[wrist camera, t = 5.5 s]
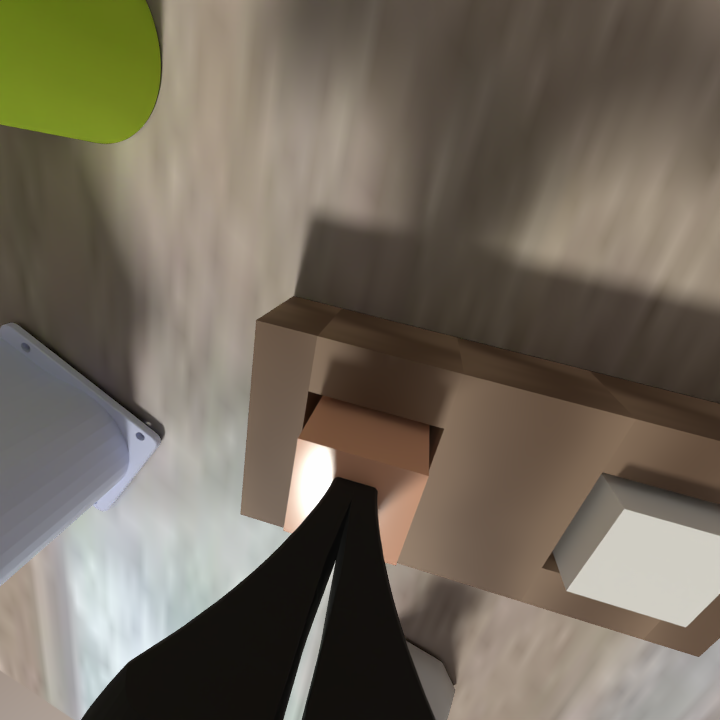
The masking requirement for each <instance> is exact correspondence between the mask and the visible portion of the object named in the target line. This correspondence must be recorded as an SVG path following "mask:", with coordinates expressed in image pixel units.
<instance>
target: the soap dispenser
mask: <svg viewBox="0 0 720 720" xmlns="http://www.w3.org/2000/svg"><path fill="white" fill-rule="evenodd" d="M160 76H161V58H160V48H159V41H158V36H157V32H156V28H155V24H154V21H153V18H152V15H151V12H150V10H149V7H148V5H147V2H146V0H0V124H1V125H6V126H11V127H16V128H21V129H27V130H32V131H37V132H42V133H47V134H53V135H58V136H63V137H68V138H74V139H79V140H84V141H89V142H94V143H102V144H110V143H116V142H120V141H123V140H125V139H127V138H129V137H131V136H132V135H134V134H135V133H136V132H137V131H139V130H140V129H141V127H142V126H143V125H144V124H145V122H146V121H147V120H148V118H149V116H150V114H151V112H152V110H153V108H154V105H155V103H156V99H157V96H158V91H159V85H160Z"/></svg>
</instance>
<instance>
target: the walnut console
mask: <svg viewBox="0 0 720 720" xmlns="http://www.w3.org/2000/svg"><path fill="white" fill-rule="evenodd" d="M322 396H327V397H331V398H334V399H338V400H342V401H345V402H349V403H352V404H356V405H360V406H363V407H367V408H371V409H374V410H378V411H381V412H385V413H389V414H392V415H396V416H400V417H403V418H407V419H411V420H414V421H418V422H421V423H425V424H429V477H428V480H427V483H426V485H425V488H424V491H423V493H422V496H421V499H420V502H419V504H418V507H417V510H416V512H415V515H414V518H413V521H412V523H411V526H410V529H409V531H408V534H407V537H406V539H405V542H404V545H403V548H402V550H401V553H400V556H399V558H398V561H397V563H399V564H402V565H405V566H408V567H412V568H415V569H418V570H421V571H424V572H428V573H431V574H434V575H437V576H440V577H444V578H447V579H450V580H453V581H457V582H460V583H463V584H466V585H469V586H473V587H476V588H479V589H482V590H485V591H489V592H492V593H495V594H498V595H501V596H505V597H508V598H511V599H514V600H518V601H521V602H524V603H527V604H530V605H534V606H537V607H540V608H543V609H546V610H550V611H553V612H556V613H559V614H562V615H566V616H569V617H572V618H575V619H579V620H582V621H585V622H588V623H591V624H595V625H598V626H601V627H604V628H607V629H611V630H614V631H617V632H620V633H624V634H627V635H630V636H633V637H636V638H640V639H643V640H646V641H649V642H652V643H656V644H659V645H662V646H665V647H668V648H672V649H675V650H678V651H681V652H685V653H688V654H691V655H694V656H697V657H699V656H700V655H702V654H703V653H704V652H705V651H706V650H707V649H708V648H709V647H710V646H711V645H712V644H714V643H715V642H716V641H717V640H718V639H719V638H720V594H719V595H718V596H717V597H716V598H715V599H714V600H713V601H712V602H711V603H710V604H709V605H708V606H707V607H706V608H705V609H704V610H703V611H702V612H701V613H700V614H699V615H698V616H697V617H696V618H695V619H694V620H693V621H692V622H691V623H690V624H689V625H688V626H687V627H683V626H679V625H676V624H673V623H670V622H666V621H663V620H660V619H657V618H653V617H650V616H647V615H643V614H640V613H637V612H634V611H630V610H627V609H624V608H621V607H617V606H614V605H611V604H607V603H604V602H601V601H598V600H594V599H591V598H588V597H585V596H581V595H578V594H575V593H571V592H568V591H566V589H565V586H564V583H563V580H562V577H561V575H560V572H559V569H558V566H557V563H556V560H555V557H554V555H553V552H552V551H553V549H554V548H555V546H556V545H557V543H558V542H559V540H560V538H561V537H562V535H563V534H564V532H565V530H566V529H567V527H568V526H569V524H570V523H571V521H572V519H573V518H574V516H575V515H576V513H577V512H578V510H579V508H580V507H581V505H582V504H583V502H584V501H585V499H586V497H587V496H588V494H589V493H590V491H591V490H592V488H593V486H594V485H595V483H596V482H597V480H598V479H599V477H600V475H601V474H602V472H603V473H607V474H610V475H614V476H618V477H621V478H625V479H629V480H632V481H636V482H639V483H643V484H647V485H650V486H654V487H658V488H661V489H665V490H668V491H672V492H676V493H679V494H683V495H687V496H690V497H694V498H698V499H701V500H705V501H708V502H712V503H716V504H719V505H720V404H719V403H715V402H711V401H707V400H703V399H699V398H695V397H691V396H687V395H683V394H679V393H675V392H671V391H667V390H663V389H659V388H655V387H652V386H648V385H644V384H640V383H636V382H632V381H628V380H624V379H620V378H616V377H612V376H608V375H604V374H600V373H596V372H592V371H588V370H584V369H580V368H576V367H572V366H568V365H564V364H560V363H556V362H552V361H548V360H545V359H541V358H537V357H533V356H529V355H525V354H521V353H517V352H513V351H509V350H505V349H501V348H497V347H493V346H489V345H485V344H481V343H477V342H473V341H469V340H465V339H461V338H457V337H453V336H449V335H445V334H441V333H437V332H434V331H430V330H426V329H422V328H418V327H414V326H410V325H406V324H402V323H398V322H394V321H390V320H386V319H382V318H378V317H374V316H370V315H366V314H362V313H358V312H354V311H350V310H346V309H342V308H338V307H334V306H330V305H326V304H323V303H319V302H315V301H311V300H307V299H303V298H299V297H295V296H293V297H292V298H290V299H288V300H287V301H285V302H284V303H282V304H281V305H279V306H278V307H276V308H274V309H273V310H271V311H270V312H268V313H267V314H265V315H264V316H262V317H260V318H259V319H257V320H256V330H255V342H254V354H253V367H252V379H251V391H250V404H249V416H248V428H247V440H246V453H245V465H244V477H243V490H242V502H241V515H245V516H248V517H251V518H254V519H257V520H261V521H264V522H267V523H270V524H273V525H277V526H280V527H283V528H284V523H285V517H286V510H287V504H288V498H289V491H290V485H291V478H292V472H293V466H294V459H295V453H296V446H297V440H298V437H299V435H300V434H301V432H302V430H303V429H304V427H305V425H306V423H307V422H308V420H309V418H310V416H311V415H312V413H313V411H314V410H315V408H316V406H317V404H318V403H319V401H320V399H321V398H322Z"/></svg>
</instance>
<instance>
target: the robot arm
mask: <svg viewBox="0 0 720 720" xmlns="http://www.w3.org/2000/svg"><path fill="white" fill-rule="evenodd" d="M160 443H161V439H160V437H159V435H158V434H157V433H156V432H154V431H153V430H152V429H150V428H149V427H148V426H147V425H145V424H144V423H143V422H141V421H140V420H139V419H138V418H136V417H135V416H134V415H133V414H131V413H130V412H129V411H127V410H126V409H125V408H124V407H122V406H121V405H120V404H118V403H117V402H116V401H115V400H113V399H112V398H111V397H110V396H108V395H107V394H106V393H104V392H103V391H102V390H101V389H99V388H98V387H97V386H95V385H94V384H93V383H92V382H90V381H89V380H88V379H87V378H85V377H84V376H83V375H81V374H80V373H79V372H78V371H76V370H75V369H74V368H72V367H71V366H70V365H69V364H67V363H66V362H65V361H64V360H62V359H61V358H60V357H58V356H57V355H56V354H55V353H53V352H52V351H51V350H49V349H48V348H47V347H46V346H44V345H43V344H42V343H41V342H39V341H38V340H37V339H35V338H34V337H33V336H32V335H30V334H29V333H28V332H27V331H25V330H24V329H23V328H21V327H20V326H19V325H17V324H15V323H8V324H4V325H2V326H1V327H0V586H1V585H2V584H3V583H5V582H6V581H7V580H8V579H9V578H10V577H11V576H12V575H14V574H15V573H16V572H17V571H18V570H19V569H20V568H22V567H23V566H24V565H25V564H26V563H27V562H28V561H30V560H31V559H32V558H33V557H34V556H35V555H36V554H38V553H39V552H40V551H41V550H42V549H43V548H44V547H46V546H47V545H48V544H49V543H50V542H51V541H52V540H54V539H55V538H56V537H57V536H58V535H59V534H60V533H62V532H63V531H64V530H65V529H66V528H67V527H68V526H69V525H71V524H72V523H73V522H74V521H75V520H76V519H77V518H79V517H80V516H81V515H82V514H83V513H84V512H85V511H87V510H88V509H89V508H90V507H91V506H92V505H93V506H94V507H96V508H97V509H99V510H100V511H107V510H108V509H109V508H110V507H111V506H112V505H113V504H114V503H115V501H116V500H117V499H118V498H119V496H120V495H121V494H122V493H123V491H124V490H125V489H126V487H127V486H128V485H129V484H130V482H131V481H132V480H133V478H134V477H135V476H136V475H137V473H138V472H139V471H140V469H141V468H142V467H143V466H144V464H145V463H146V462H147V461H148V459H149V458H150V457H151V455H152V454H153V453H154V452H155V450H156V449H157V448H158V446H159V445H160ZM377 496H378V491H377V489H376V488H375V487H372V486H368V485H365V484H361V483H358V482H355V481H351V480H348V479H344V478H341V477H336V478H334V479H333V481H332V483H331V485H330V486H329V488H328V490H327V491H326V493H325V494H324V495H323V497H322V498H321V500H320V501H319V502H318V504H317V505H316V506H315V508H314V509H313V510H312V511H311V512H310V514H309V515H308V516H307V517H306V518H305V520H304V521H303V522H302V523H301V524H300V525H299V527H298V528H297V529H296V530H295V531H294V532H293V533H292V534H291V535H290V536H289V537H288V538H287V539H286V541H285V542H284V543H283V544H282V545H281V546H280V547H279V548H278V549H277V550H276V551H275V552H274V553H273V554H272V555H271V556H270V557H269V558H268V559H267V560H265V561H264V562H263V563H262V564H261V565H260V566H259V567H258V568H257V569H256V570H255V571H253V572H252V573H251V574H250V575H249V576H248V577H246V578H245V579H244V580H243V581H242V582H240V583H239V584H238V585H237V586H236V587H235V588H233V589H232V590H231V591H230V592H228V593H227V594H226V595H225V596H223V597H222V598H221V599H220V600H218V601H217V602H216V603H214V604H213V605H212V606H210V607H209V608H207V609H206V610H205V611H203V612H202V613H201V614H199V615H198V616H197V617H195V618H194V619H192V620H191V621H190V622H188V623H187V624H186V625H184V626H183V627H181V628H180V629H178V630H177V631H176V632H174V633H173V634H171V635H169V636H168V637H166V638H165V639H163V640H162V641H160V642H159V643H157V644H156V645H154V646H152V647H151V648H149V649H148V650H146V651H145V652H143V653H142V654H140V655H139V656H137V657H135V658H134V659H132V660H131V661H130V662H128V663H127V664H126V665H125V666H124V668H123V669H122V670H121V671H120V672H119V673H118V674H117V675H116V676H115V677H114V679H113V680H112V681H111V682H110V683H109V684H108V685H107V687H106V688H105V689H104V690H103V691H102V693H101V694H100V695H99V696H98V698H97V699H96V700H95V701H94V703H93V704H92V705H91V706H90V708H89V709H88V710H87V712H86V713H85V715H84V716H83V718H82V719H81V720H283V719H284V715H285V712H286V708H287V705H288V701H289V698H290V694H291V691H292V687H293V684H294V680H295V677H296V673H297V670H298V666H299V663H300V659H301V656H302V652H303V649H304V646H305V643H306V640H307V637H308V634H309V631H310V629H311V626H312V623H313V621H314V618H315V615H316V613H317V610H318V607H319V604H320V602H321V599H322V596H323V594H324V591H325V588H326V585H327V583H328V580H329V577H330V575H331V572H332V569H333V566H334V564H335V568H334V574H333V579H332V585H331V590H330V596H329V601H328V607H327V612H326V618H325V623H324V629H323V634H322V640H321V644H320V649H319V654H318V658H317V662H316V666H315V670H314V674H313V678H312V682H311V686H310V689H309V693H308V697H307V701H306V705H305V709H304V713H303V717H302V720H436V719H435V716H434V714H433V712H432V709H431V707H430V704H429V702H428V699H427V697H426V695H425V692H424V689H423V687H422V684H421V681H420V679H419V676H418V673H417V670H416V668H415V665H414V662H413V660H412V657H411V654H410V651H409V649H408V646H407V643H406V640H405V637H404V633H403V630H402V627H401V624H400V621H399V617H398V614H397V610H396V607H395V603H394V600H393V596H392V592H391V588H390V584H389V579H388V575H387V570H386V566H385V560H384V555H383V549H382V543H381V537H380V530H379V520H378V506H377ZM335 561H336V563H335Z"/></svg>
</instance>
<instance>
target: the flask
mask: <svg viewBox="0 0 720 720" xmlns="http://www.w3.org/2000/svg"><path fill="white" fill-rule="evenodd" d="M406 643H407V646H408V649H409V651H410V654H411V657H412V660H413V662H414V665H415V668H416V670H417V673H418V676H419V679H420V681H421V684H422V687H423V689H424V692H425V695H426V697H427V699H428V702H429V704H430V707H431V709H432V712H433V714H434V716H435V719H436V720H447V718H448V715H449V712H450V708H451V704H452V701H453V697H454V693H455V688H454V686H453V684H452V682H451V680H450V678H449V676H448V673H447V671H446V669H445V667H444V665H443V663H442V662H441V661H439V660H438V659H436V658H434V657H433V656H431V655H429V654H428V653H426V652H424V651H423V650H421V649H419V648H417V647H416V646H414V645H412V644H411V643H409V642H407V641H406Z"/></svg>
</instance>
